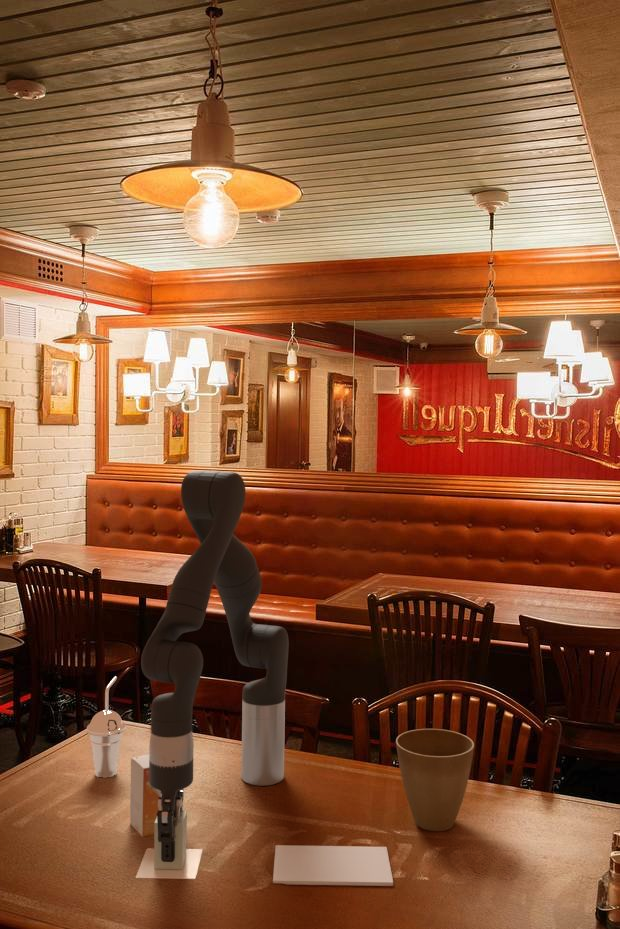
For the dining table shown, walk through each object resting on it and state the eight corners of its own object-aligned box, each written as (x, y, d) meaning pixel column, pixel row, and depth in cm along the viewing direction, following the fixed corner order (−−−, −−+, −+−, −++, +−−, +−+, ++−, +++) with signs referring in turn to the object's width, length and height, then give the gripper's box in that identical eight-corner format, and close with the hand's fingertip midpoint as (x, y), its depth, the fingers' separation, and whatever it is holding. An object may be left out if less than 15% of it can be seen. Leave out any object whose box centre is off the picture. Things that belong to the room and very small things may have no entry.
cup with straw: (77, 775, 183) (77, 683, 182) (109, 762, 190) (110, 674, 190) (104, 785, 178) (104, 691, 177) (135, 771, 185) (136, 681, 185)
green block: (159, 854, 149) (159, 810, 148) (186, 855, 149) (186, 810, 148) (154, 868, 144) (154, 822, 144) (182, 869, 144) (182, 823, 144)
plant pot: (453, 802, 172) (455, 725, 172) (485, 837, 158) (487, 752, 157) (383, 809, 169) (385, 730, 168) (410, 845, 154) (412, 758, 154)
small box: (142, 838, 155) (142, 768, 155) (129, 824, 161) (129, 757, 160) (182, 827, 160) (183, 759, 159) (168, 814, 165) (169, 748, 165)
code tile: (146, 849, 151) (146, 848, 151) (202, 850, 151) (202, 849, 151) (135, 878, 141) (135, 877, 141) (195, 879, 141) (195, 878, 141)
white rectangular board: (275, 848, 152) (275, 845, 152) (386, 850, 152) (386, 846, 152) (272, 884, 140) (272, 880, 140) (393, 885, 140) (393, 882, 140)
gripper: (187, 773, 138) (186, 875, 139) (198, 741, 153) (197, 833, 153) (141, 772, 138) (140, 874, 139) (157, 740, 153) (156, 833, 153)
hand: (170, 852), depth 146 cm, fingers closed on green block, 4 cm apart
